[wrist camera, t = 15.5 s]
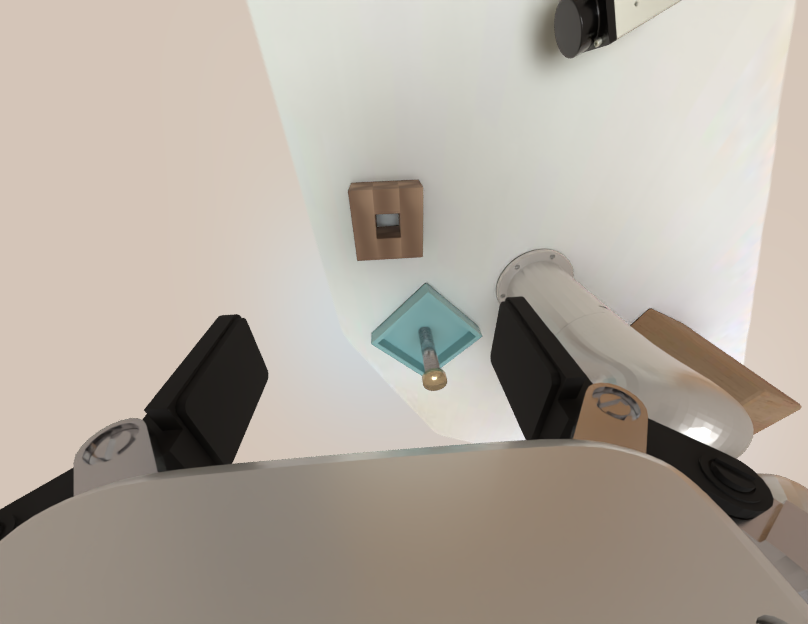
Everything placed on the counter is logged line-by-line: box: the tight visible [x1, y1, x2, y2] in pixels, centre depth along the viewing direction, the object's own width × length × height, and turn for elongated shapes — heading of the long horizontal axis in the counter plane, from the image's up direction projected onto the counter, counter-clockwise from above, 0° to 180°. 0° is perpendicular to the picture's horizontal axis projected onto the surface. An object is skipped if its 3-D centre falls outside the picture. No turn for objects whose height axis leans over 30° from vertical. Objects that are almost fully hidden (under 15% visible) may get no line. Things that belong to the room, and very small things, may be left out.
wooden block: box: [631, 309, 801, 435], centre depth 50 cm, size 10×10×20 cm
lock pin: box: [418, 327, 447, 391], centre depth 48 cm, size 4×4×12 cm
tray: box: [371, 283, 482, 376], centre depth 52 cm, size 14×14×3 cm
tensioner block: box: [348, 180, 423, 261], centre depth 39 cm, size 9×9×5 cm
